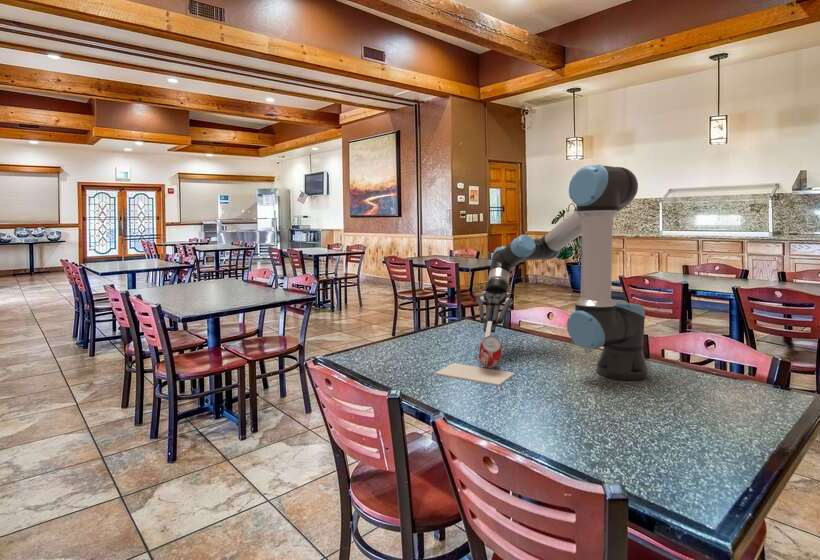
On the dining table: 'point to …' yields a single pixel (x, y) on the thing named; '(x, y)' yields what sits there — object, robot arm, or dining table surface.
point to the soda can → (490, 351)
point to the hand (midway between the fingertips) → (487, 339)
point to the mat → (475, 374)
